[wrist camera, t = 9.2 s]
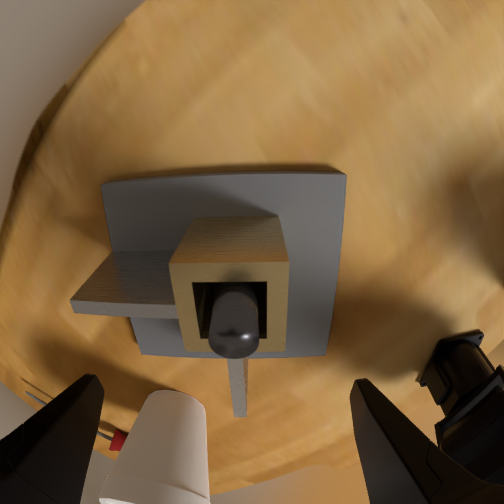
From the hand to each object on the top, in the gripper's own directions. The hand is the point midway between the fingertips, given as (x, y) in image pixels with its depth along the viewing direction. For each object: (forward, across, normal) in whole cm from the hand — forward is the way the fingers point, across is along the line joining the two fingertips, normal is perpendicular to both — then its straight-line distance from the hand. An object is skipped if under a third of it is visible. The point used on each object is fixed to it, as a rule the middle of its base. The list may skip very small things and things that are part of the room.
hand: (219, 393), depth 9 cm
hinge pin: (+11, 0, 0) cm, 11 cm away
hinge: (+11, +3, +3) cm, 12 cm away
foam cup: (+12, +7, +18) cm, 23 cm away
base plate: (+12, +1, +2) cm, 12 cm away
